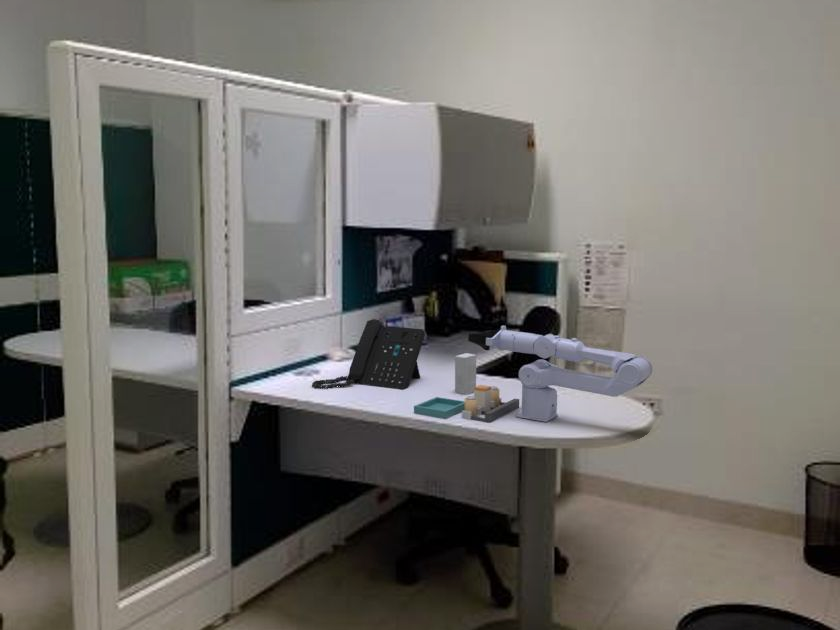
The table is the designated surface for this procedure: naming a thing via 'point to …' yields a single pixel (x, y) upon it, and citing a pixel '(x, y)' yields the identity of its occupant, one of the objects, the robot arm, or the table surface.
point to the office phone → (383, 357)
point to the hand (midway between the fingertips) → (475, 335)
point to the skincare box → (465, 373)
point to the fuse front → (471, 405)
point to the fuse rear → (495, 395)
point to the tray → (440, 407)
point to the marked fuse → (483, 396)
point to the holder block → (493, 411)
